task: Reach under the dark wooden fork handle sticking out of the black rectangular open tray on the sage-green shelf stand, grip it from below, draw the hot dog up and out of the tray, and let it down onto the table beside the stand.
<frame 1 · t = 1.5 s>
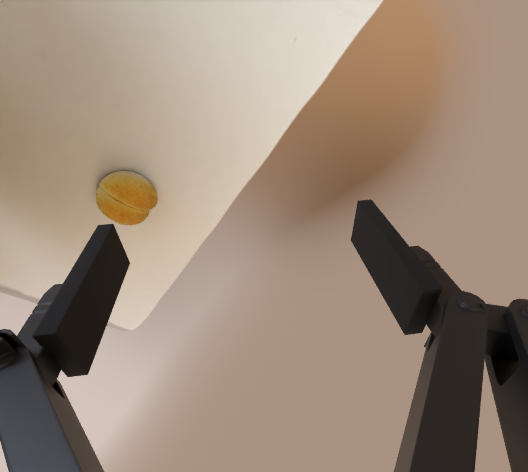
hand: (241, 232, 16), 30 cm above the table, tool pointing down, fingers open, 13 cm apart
bread roll: (129, 194, 47), on the table
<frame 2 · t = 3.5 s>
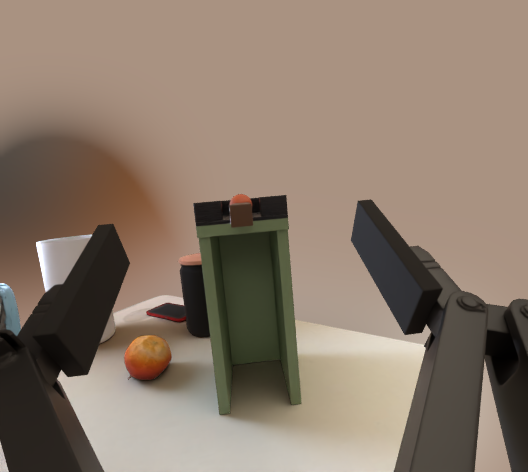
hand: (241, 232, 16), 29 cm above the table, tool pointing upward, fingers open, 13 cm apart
black rectangular open tray: (242, 218, 46), resting on shelf stand
cell phone: (173, 314, 83), on the table
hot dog: (242, 215, 46), point 28 cm above the table, touching black rectangular open tray
cylinder vase: (87, 340, 72), on the table
coffee jar: (210, 328, 72), on the table
shelf stand: (258, 380, 50), on the table
fruit: (150, 374, 54), on the table
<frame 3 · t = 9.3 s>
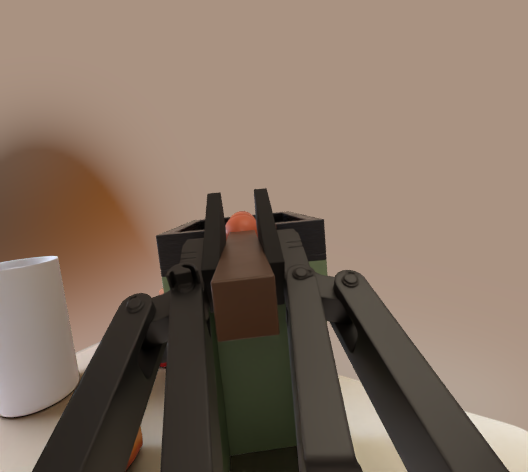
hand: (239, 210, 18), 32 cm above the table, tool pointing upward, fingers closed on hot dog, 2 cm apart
black rectangular open tray: (244, 250, 29), resting on shelf stand
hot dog: (244, 245, 29), point 28 cm above the table, touching gripper, black rectangular open tray
cylinder vase: (41, 395, 55), on the table
fruit: (111, 470, 37), on the table
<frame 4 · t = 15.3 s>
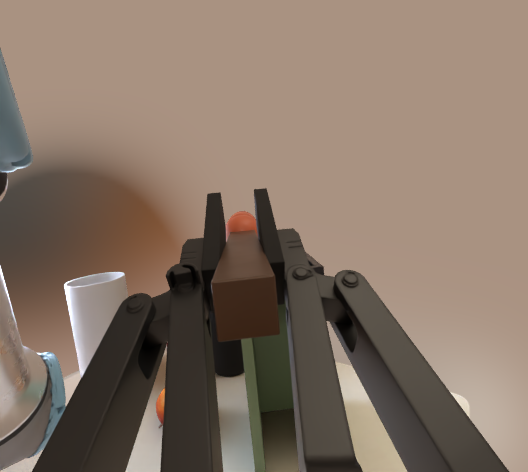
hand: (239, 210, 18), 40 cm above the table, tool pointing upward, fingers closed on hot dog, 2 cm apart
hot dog: (244, 245, 29), point 36 cm above the table, touching gripper
cylinder vase: (112, 377, 73), on the table
coffee jar: (232, 365, 73), on the table
shelf stand: (288, 432, 51), on the table
fruit: (180, 422, 55), on the table
when the fingers open (22 cm above the table, at t = 21.2 s): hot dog drops 18 cm, on the table.
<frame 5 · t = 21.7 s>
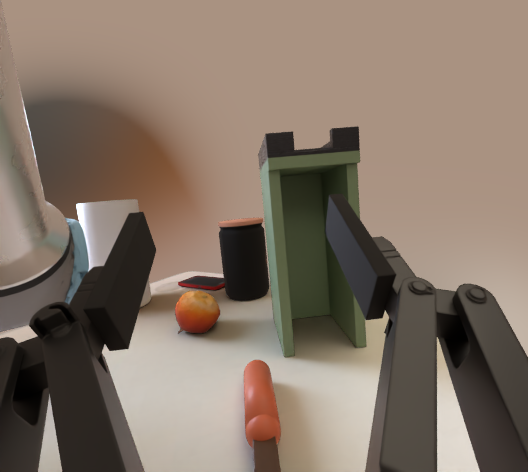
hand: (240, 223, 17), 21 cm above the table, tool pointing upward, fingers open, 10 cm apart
black rectangular open tray: (301, 162, 45), resting on shelf stand
cell phone: (205, 284, 83), on the table
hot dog: (261, 412, 31), on the table
cylinder vase: (124, 306, 71), on the table
coffee jar: (247, 294, 71), on the table
shelf stand: (313, 330, 49), on the table
fruit: (200, 329, 54), on the table
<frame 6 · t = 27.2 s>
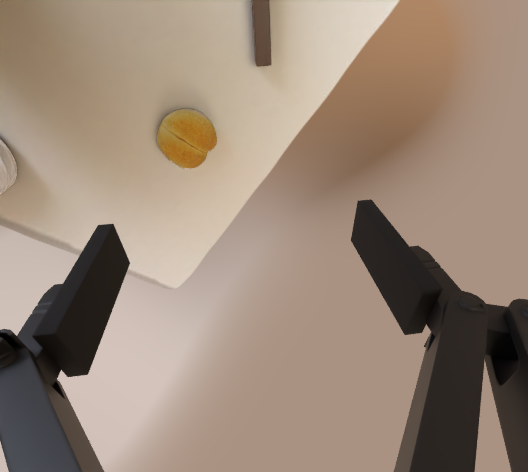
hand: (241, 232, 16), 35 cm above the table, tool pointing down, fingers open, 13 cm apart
bread roll: (188, 136, 47), on the table
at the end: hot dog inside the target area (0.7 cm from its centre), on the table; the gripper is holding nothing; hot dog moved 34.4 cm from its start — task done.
